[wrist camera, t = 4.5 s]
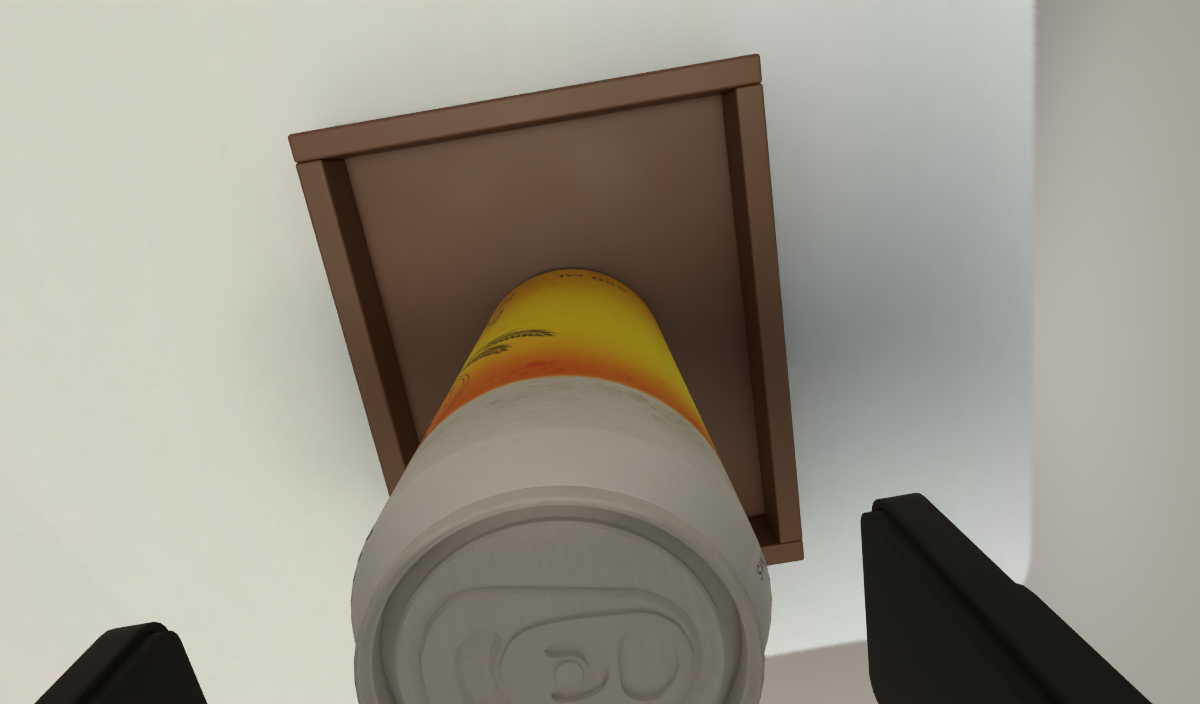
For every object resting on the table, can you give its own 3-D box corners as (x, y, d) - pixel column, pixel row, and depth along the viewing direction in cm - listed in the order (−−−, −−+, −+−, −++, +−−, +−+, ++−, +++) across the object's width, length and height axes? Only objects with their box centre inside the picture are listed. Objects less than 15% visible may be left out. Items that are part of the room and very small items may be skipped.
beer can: (472, 274, 22) (269, 494, 8) (654, 256, 22) (792, 440, 8) (498, 441, 24) (371, 877, 9) (666, 424, 24) (799, 833, 9)
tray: (317, 137, 21) (285, 134, 19) (740, 64, 21) (760, 52, 19) (437, 579, 26) (424, 621, 23) (784, 524, 26) (804, 560, 23)
